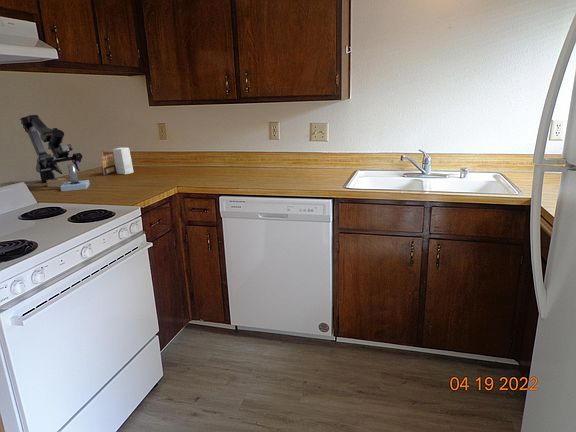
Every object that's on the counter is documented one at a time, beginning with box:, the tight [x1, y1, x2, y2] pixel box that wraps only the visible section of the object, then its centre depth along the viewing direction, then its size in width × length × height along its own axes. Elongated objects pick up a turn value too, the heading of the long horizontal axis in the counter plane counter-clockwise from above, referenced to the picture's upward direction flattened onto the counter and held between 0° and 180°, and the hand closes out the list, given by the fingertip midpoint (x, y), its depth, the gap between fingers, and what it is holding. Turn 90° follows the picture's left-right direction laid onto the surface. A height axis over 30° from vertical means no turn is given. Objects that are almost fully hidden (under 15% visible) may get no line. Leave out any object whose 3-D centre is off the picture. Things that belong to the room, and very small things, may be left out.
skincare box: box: [112, 147, 134, 175], centre depth 257 cm, size 8×7×16 cm
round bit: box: [67, 163, 79, 184], centre depth 222 cm, size 4×4×12 cm
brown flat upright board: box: [100, 153, 117, 177], centre depth 257 cm, size 11×2×12 cm, turn 165°
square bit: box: [46, 177, 68, 188], centre depth 231 cm, size 9×4×4 cm, turn 80°
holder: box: [60, 179, 90, 192], centre depth 224 cm, size 12×12×2 cm
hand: (70, 172), depth 223 cm, fingers open, 9 cm apart
